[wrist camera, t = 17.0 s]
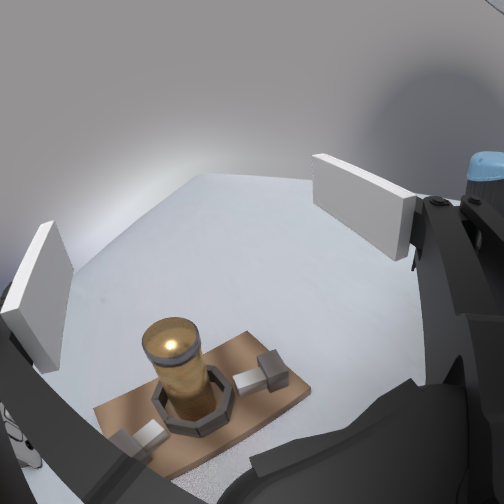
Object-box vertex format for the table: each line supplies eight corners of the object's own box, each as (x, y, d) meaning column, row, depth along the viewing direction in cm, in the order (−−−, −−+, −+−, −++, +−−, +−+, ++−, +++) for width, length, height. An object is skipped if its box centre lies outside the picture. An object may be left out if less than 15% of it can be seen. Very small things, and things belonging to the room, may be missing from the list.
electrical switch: (43, 469, 25) (-7, 433, 20) (17, 476, 24) (-33, 442, 18) (37, 414, 32) (-4, 374, 27) (14, 423, 31) (-27, 385, 26)
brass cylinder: (219, 386, 36) (201, 314, 30) (216, 424, 31) (194, 357, 25) (176, 386, 36) (148, 316, 30) (170, 423, 32) (135, 357, 25)
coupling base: (248, 337, 45) (244, 313, 42) (310, 393, 36) (312, 371, 33) (98, 414, 34) (81, 394, 31) (135, 496, 24) (117, 483, 22)
